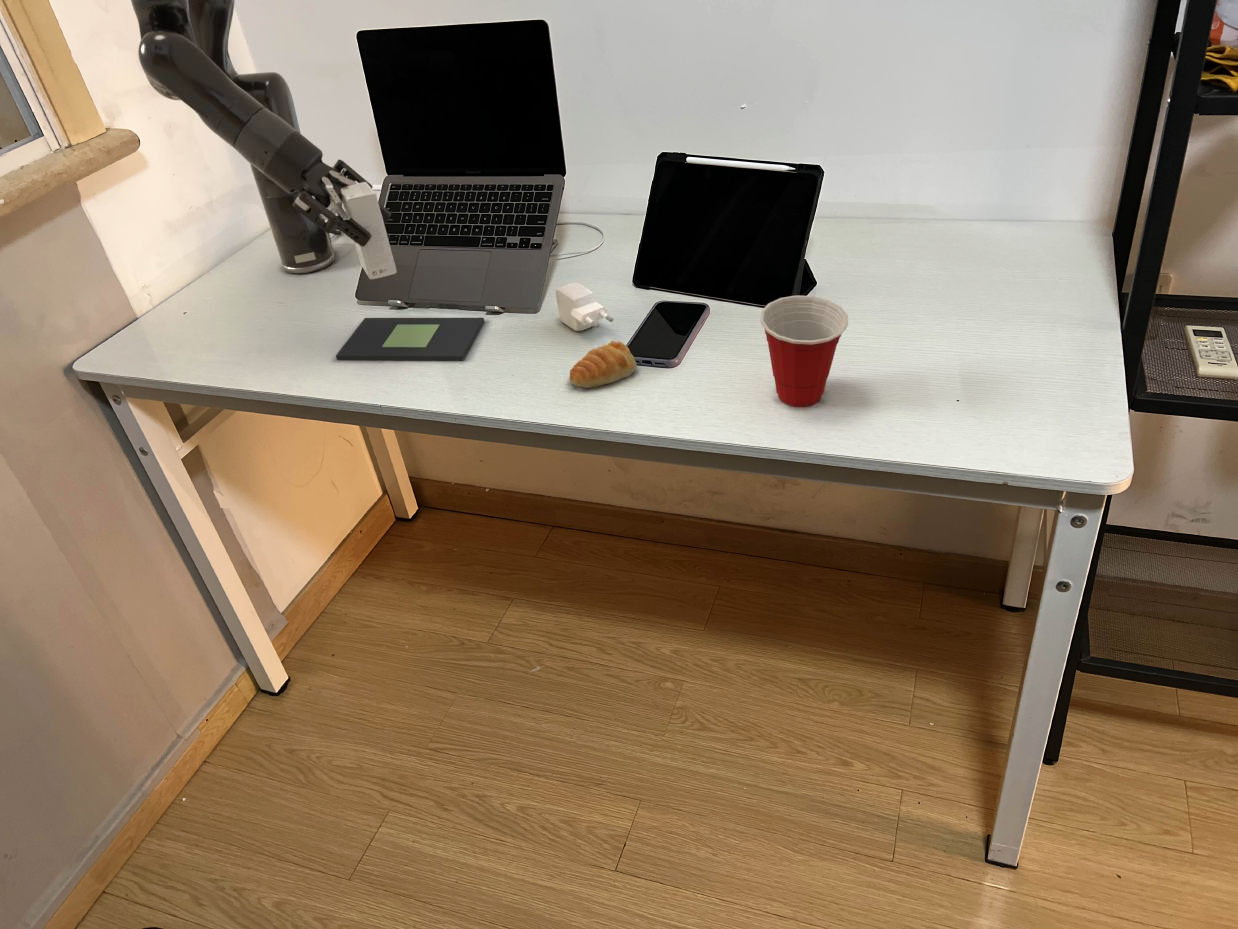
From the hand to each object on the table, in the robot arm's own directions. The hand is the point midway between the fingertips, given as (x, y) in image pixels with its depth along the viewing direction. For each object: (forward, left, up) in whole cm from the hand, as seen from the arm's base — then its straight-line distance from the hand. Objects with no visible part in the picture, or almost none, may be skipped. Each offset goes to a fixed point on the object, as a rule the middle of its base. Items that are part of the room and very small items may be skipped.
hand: (378, 230), depth 131 cm
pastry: (+9, +33, -18) cm, 39 cm away
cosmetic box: (0, -2, -6) cm, 6 cm away
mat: (0, +1, -18) cm, 18 cm away
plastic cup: (+14, +60, -18) cm, 64 cm away
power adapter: (-4, +28, -18) cm, 34 cm away
